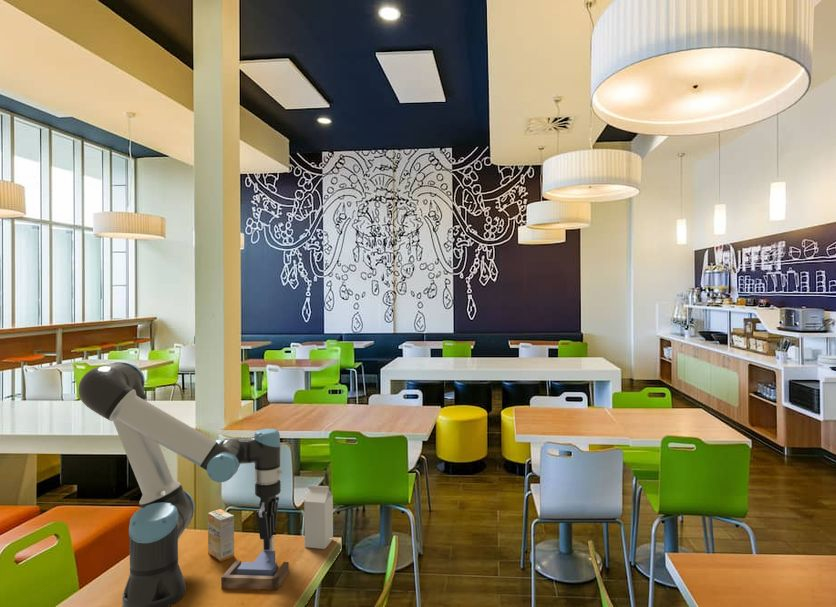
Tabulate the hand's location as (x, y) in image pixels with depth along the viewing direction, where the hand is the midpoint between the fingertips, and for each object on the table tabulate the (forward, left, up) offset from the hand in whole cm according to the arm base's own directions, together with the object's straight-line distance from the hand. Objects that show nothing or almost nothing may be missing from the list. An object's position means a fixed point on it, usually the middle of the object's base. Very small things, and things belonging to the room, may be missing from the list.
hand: (268, 558), depth 156 cm
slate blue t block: (0, -6, -1) cm, 6 cm away
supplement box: (-17, +4, -2) cm, 18 cm away
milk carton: (+12, +13, -2) cm, 18 cm away
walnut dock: (0, -9, -1) cm, 9 cm away
